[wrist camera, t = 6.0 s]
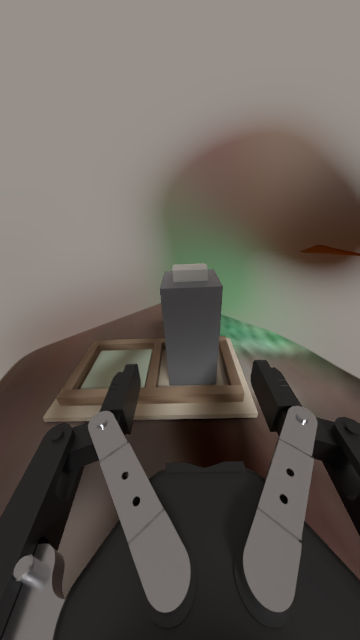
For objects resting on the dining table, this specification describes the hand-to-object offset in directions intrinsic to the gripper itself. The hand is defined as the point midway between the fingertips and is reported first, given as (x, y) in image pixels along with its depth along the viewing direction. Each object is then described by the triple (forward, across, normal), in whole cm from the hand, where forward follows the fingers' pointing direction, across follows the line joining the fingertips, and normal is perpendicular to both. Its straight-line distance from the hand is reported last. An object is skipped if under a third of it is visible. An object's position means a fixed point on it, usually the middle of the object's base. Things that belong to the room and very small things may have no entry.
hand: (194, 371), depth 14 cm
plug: (+7, 0, +7) cm, 10 cm away
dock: (+7, +4, +7) cm, 11 cm away
